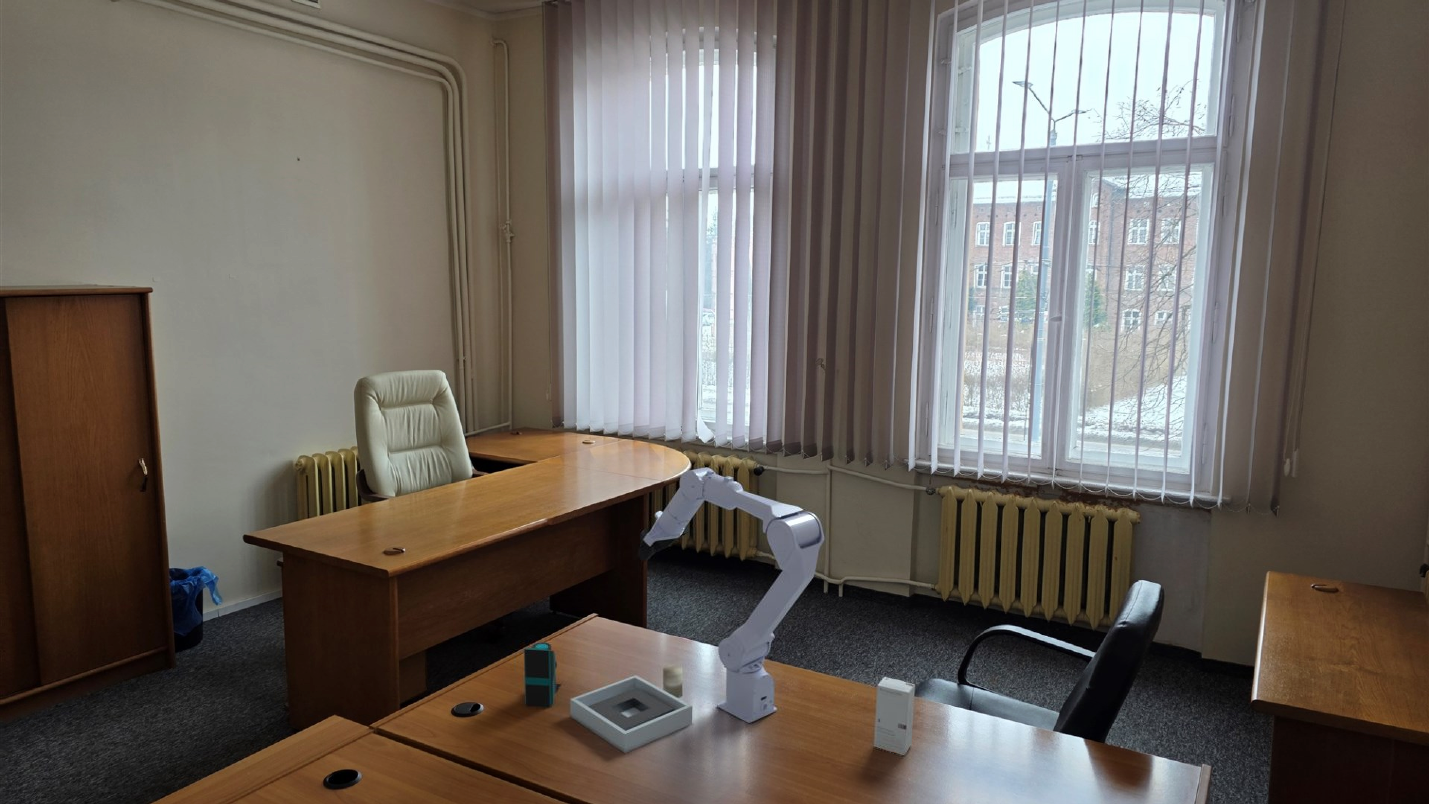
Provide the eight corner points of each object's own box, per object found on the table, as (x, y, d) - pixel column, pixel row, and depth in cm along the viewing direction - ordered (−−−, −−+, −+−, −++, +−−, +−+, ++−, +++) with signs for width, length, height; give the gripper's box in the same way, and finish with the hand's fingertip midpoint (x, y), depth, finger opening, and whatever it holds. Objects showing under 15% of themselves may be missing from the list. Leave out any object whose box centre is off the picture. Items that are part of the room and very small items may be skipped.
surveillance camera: (565, 631, 175) (550, 650, 165) (566, 685, 177) (551, 708, 167) (539, 629, 176) (522, 649, 166) (540, 684, 177) (524, 706, 168)
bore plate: (674, 718, 162) (674, 708, 161) (624, 739, 154) (623, 729, 153) (637, 696, 170) (636, 687, 170) (587, 715, 162) (587, 706, 162)
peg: (686, 694, 173) (686, 669, 172) (671, 700, 170) (671, 675, 170) (674, 688, 176) (674, 663, 175) (659, 694, 173) (659, 668, 173)
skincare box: (873, 748, 152) (874, 685, 151) (880, 737, 156) (882, 675, 155) (906, 757, 149) (908, 693, 148) (913, 746, 153) (915, 683, 152)
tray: (692, 723, 161) (692, 706, 160) (624, 753, 150) (624, 734, 150) (636, 691, 174) (635, 675, 174) (570, 716, 163) (570, 699, 163)
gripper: (686, 487, 182) (659, 527, 189) (646, 510, 171) (618, 551, 178) (708, 510, 180) (680, 549, 188) (669, 534, 169) (641, 574, 176)
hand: (651, 551), depth 182 cm, fingers open, 7 cm apart
